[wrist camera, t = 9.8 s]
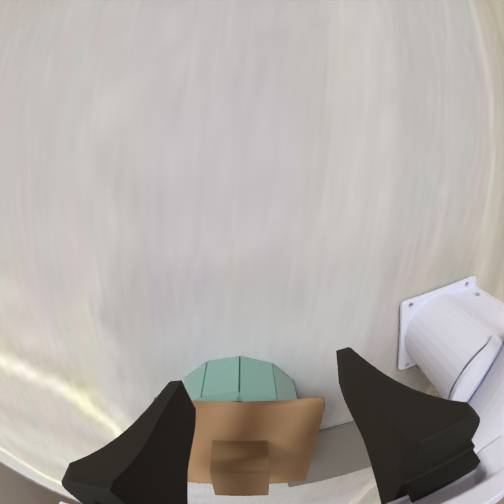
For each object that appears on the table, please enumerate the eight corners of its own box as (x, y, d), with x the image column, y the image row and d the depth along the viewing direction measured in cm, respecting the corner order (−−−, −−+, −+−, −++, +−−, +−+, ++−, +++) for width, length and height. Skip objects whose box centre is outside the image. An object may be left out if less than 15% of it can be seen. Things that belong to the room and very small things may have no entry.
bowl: (286, 346, 24) (293, 380, 19) (302, 424, 26) (308, 455, 22) (165, 367, 24) (153, 399, 20) (203, 438, 27) (199, 469, 23)
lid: (323, 396, 20) (335, 437, 16) (304, 475, 23) (310, 506, 19) (154, 397, 20) (141, 437, 15) (182, 475, 23) (177, 506, 19)
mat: (406, 402, 26) (408, 404, 26) (395, 455, 30) (395, 457, 30) (273, 440, 27) (273, 442, 27) (288, 484, 31) (289, 486, 30)
